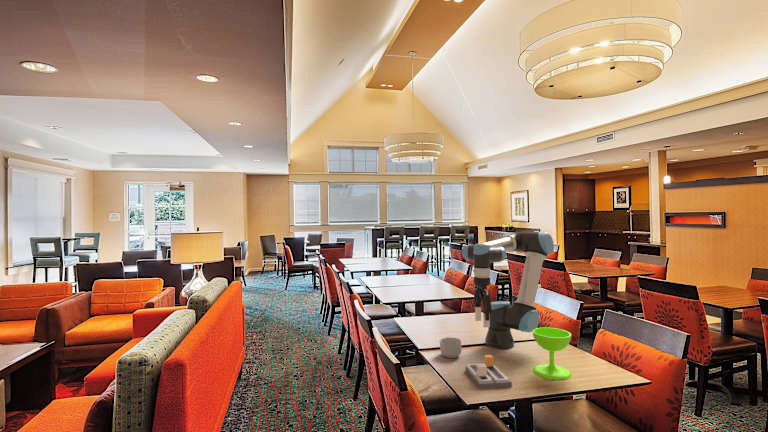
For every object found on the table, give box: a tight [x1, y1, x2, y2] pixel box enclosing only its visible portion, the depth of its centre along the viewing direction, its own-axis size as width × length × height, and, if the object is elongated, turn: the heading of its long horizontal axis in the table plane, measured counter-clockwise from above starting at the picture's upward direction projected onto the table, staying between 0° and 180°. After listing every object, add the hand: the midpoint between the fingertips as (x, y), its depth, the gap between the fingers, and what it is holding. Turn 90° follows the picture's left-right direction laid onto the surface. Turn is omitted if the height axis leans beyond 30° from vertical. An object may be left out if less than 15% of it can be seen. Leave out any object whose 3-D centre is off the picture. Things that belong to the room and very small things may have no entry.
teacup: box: [439, 336, 462, 359], centre depth 198 cm, size 14×11×8 cm
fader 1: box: [476, 363, 487, 379], centre depth 165 cm, size 3×3×5 cm
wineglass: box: [532, 326, 572, 381], centre depth 175 cm, size 16×16×18 cm
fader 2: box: [483, 354, 495, 369], centre depth 175 cm, size 3×3×5 cm
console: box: [464, 362, 513, 390], centre depth 169 cm, size 14×18×3 cm
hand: (482, 323), depth 183 cm, fingers open, 10 cm apart
